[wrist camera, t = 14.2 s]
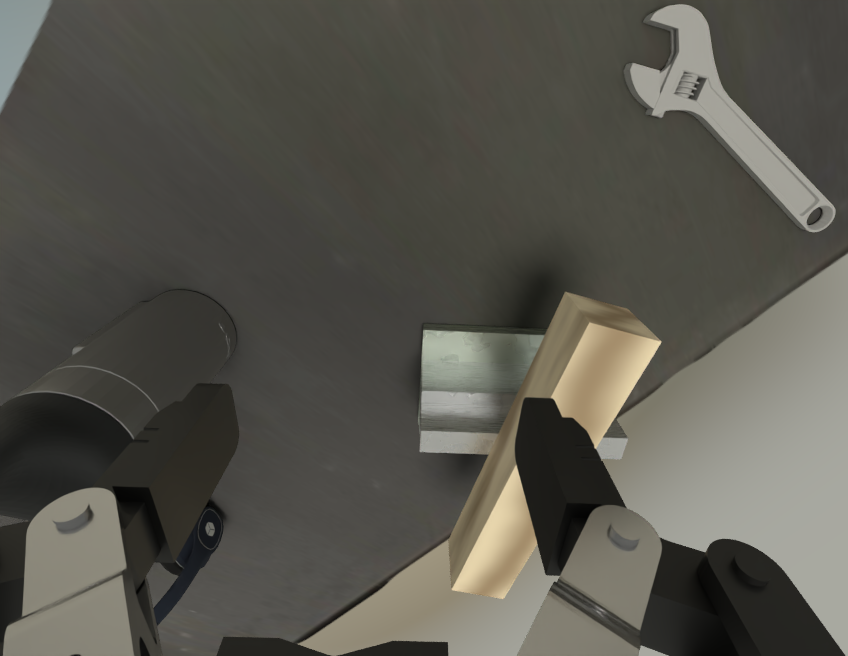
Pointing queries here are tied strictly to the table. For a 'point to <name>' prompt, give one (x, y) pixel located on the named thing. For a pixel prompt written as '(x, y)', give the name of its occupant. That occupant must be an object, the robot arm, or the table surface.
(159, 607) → the headphones
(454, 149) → the table surface
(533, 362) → the pine rod
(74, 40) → the table surface
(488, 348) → the stand
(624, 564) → the robot arm
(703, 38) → the adjustable wrench
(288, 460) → the table surface
